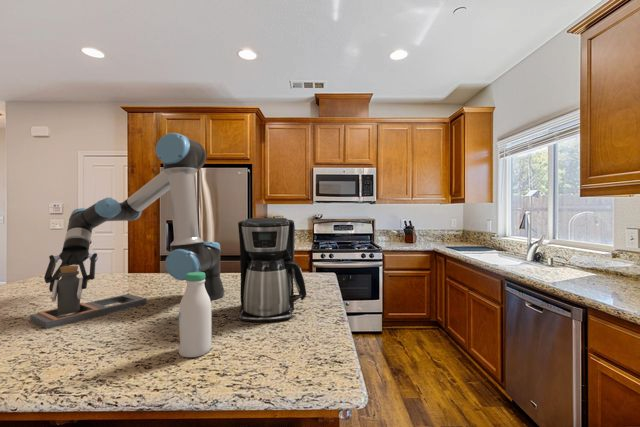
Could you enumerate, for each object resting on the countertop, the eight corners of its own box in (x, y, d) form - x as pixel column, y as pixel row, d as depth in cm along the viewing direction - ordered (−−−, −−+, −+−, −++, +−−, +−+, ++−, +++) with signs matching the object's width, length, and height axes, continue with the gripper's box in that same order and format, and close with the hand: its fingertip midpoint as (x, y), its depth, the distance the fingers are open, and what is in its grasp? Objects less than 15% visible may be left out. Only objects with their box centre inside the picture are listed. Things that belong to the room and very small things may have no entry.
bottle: (66, 308, 104) (66, 265, 104) (84, 308, 105) (84, 265, 105) (52, 314, 98) (52, 268, 98) (71, 314, 99) (72, 268, 99)
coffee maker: (245, 328, 93) (246, 218, 93) (223, 301, 121) (223, 217, 121) (311, 316, 104) (311, 218, 104) (276, 294, 132) (277, 217, 132)
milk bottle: (217, 348, 79) (218, 271, 79) (194, 361, 72) (194, 277, 72) (196, 342, 83) (196, 269, 83) (171, 354, 76) (172, 274, 76)
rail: (146, 303, 117) (146, 297, 117) (46, 329, 91) (46, 321, 91) (128, 298, 124) (128, 293, 124) (30, 320, 98) (30, 313, 98)
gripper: (108, 248, 119) (102, 300, 105) (46, 250, 110) (30, 308, 96) (107, 235, 115) (100, 288, 101) (41, 237, 106) (24, 295, 91)
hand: (66, 298), depth 98 cm, fingers closed on bottle, 6 cm apart
